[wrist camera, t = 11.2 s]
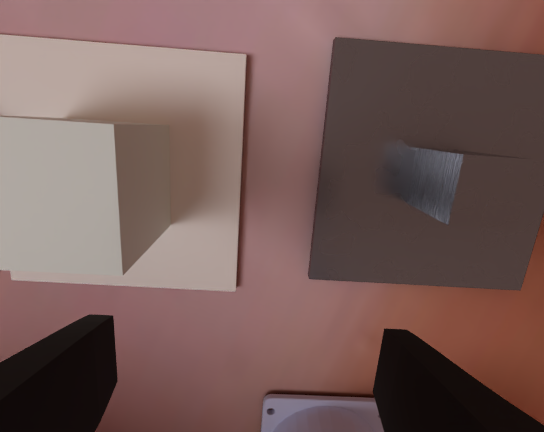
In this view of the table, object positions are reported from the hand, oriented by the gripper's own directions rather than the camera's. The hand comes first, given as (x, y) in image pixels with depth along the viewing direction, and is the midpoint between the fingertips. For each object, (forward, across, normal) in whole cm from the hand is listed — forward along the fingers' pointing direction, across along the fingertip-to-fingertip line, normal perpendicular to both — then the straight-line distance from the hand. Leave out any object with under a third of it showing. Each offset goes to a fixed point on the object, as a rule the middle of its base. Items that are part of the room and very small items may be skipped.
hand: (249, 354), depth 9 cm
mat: (+9, +7, -3) cm, 12 cm away
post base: (+9, -9, -4) cm, 14 cm away
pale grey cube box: (+9, +7, -3) cm, 12 cm away
